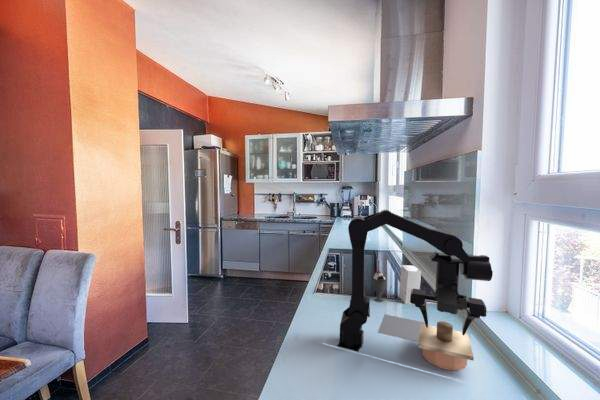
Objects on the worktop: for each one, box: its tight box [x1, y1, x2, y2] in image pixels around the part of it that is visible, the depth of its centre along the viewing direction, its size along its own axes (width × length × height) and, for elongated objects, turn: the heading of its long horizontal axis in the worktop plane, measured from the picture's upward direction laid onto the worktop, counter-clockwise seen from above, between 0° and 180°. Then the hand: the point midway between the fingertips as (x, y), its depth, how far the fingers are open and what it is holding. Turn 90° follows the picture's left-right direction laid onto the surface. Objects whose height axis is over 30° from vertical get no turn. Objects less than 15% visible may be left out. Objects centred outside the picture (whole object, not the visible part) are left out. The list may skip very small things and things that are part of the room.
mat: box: [377, 313, 425, 343], centre depth 97 cm, size 15×15×1 cm
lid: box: [418, 321, 475, 361], centre depth 80 cm, size 13×13×5 cm
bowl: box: [422, 348, 468, 371], centre depth 81 cm, size 11×11×5 cm
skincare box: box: [398, 264, 422, 306], centre depth 121 cm, size 8×6×15 cm
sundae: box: [370, 268, 388, 303], centre depth 120 cm, size 7×7×15 cm
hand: (444, 330), depth 80 cm, fingers open, 9 cm apart
